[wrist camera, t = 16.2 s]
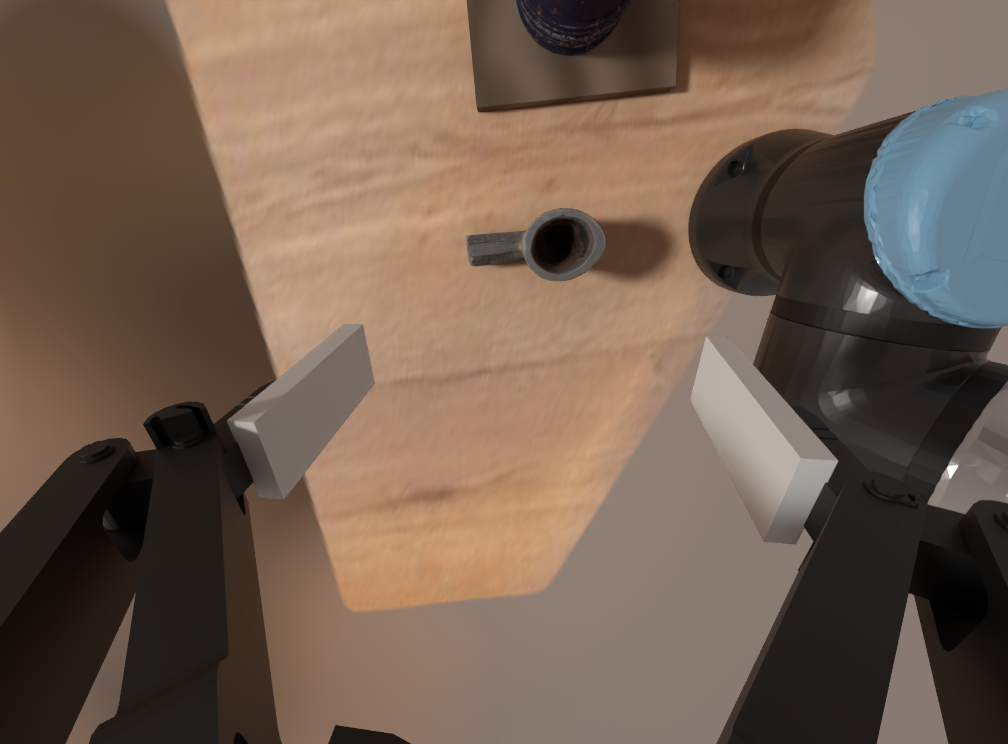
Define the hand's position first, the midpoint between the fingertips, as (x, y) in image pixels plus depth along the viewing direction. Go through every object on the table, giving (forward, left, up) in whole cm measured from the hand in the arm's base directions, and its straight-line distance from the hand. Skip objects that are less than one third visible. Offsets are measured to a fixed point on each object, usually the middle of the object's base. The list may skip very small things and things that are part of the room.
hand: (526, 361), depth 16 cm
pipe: (-1, -3, -30) cm, 30 cm away
